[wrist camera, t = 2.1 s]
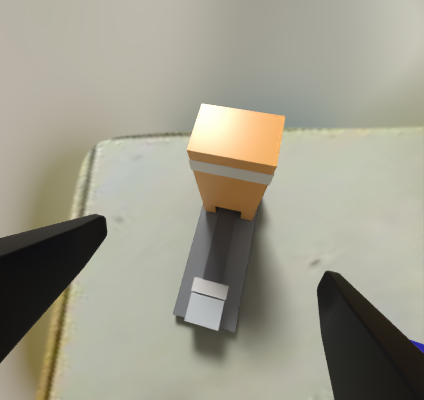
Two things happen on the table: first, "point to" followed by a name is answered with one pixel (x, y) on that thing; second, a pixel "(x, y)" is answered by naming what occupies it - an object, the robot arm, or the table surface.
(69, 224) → the robot arm
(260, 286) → the table surface
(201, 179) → the orange block
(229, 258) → the grey pronged base
